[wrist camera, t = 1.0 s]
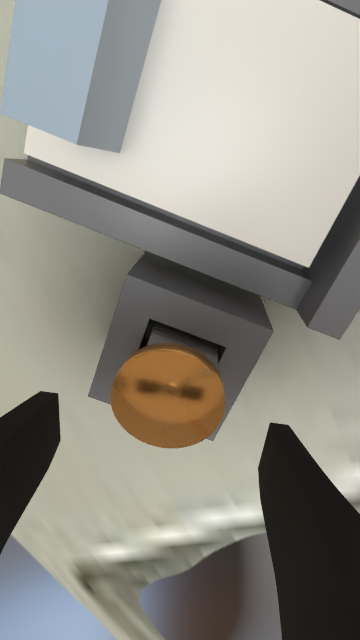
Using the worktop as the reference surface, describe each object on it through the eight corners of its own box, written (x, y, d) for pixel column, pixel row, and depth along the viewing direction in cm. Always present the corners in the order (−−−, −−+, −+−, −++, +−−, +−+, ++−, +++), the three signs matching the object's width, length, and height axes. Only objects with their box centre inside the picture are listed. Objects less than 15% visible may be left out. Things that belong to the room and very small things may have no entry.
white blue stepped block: (382, 76, 14) (559, -23, 7) (291, 251, 17) (349, 308, 10) (100, -52, 13) (-31, -313, 6) (57, 156, 16) (-63, 144, 9)
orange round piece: (236, 328, 16) (244, 378, 12) (201, 398, 18) (198, 461, 14) (149, 295, 16) (129, 335, 12) (122, 370, 18) (97, 426, 14)
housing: (452, 48, 14) (565, -9, 10) (251, 398, 22) (262, 458, 17) (87, -121, 13) (22, -275, 9) (10, 309, 21) (-47, 348, 16)
